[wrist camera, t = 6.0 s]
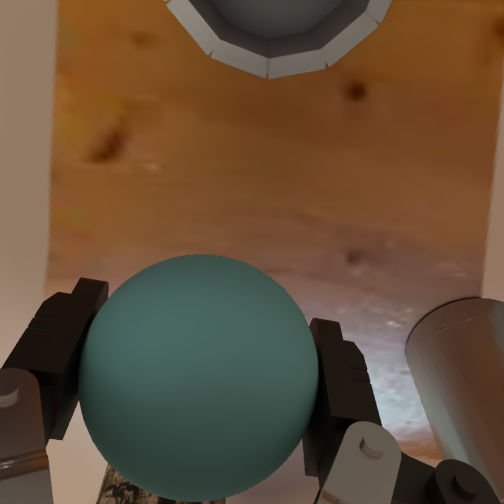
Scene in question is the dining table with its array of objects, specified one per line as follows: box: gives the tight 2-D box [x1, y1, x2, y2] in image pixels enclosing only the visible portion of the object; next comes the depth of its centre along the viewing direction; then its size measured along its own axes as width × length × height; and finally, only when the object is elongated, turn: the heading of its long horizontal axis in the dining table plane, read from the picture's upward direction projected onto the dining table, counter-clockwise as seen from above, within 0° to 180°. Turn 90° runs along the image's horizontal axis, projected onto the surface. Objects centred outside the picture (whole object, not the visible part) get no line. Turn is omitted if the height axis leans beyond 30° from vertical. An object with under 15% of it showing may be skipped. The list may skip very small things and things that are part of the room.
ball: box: [78, 254, 319, 502], centre depth 12 cm, size 6×6×6 cm
